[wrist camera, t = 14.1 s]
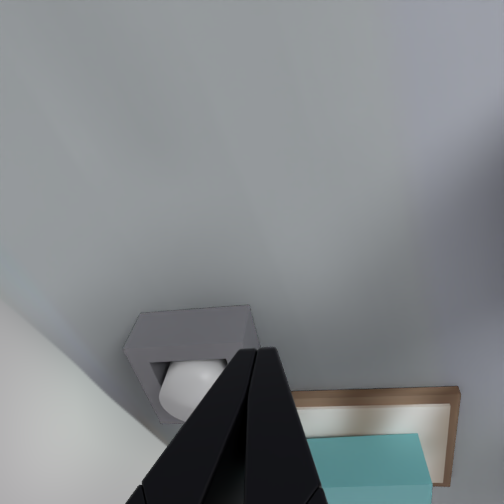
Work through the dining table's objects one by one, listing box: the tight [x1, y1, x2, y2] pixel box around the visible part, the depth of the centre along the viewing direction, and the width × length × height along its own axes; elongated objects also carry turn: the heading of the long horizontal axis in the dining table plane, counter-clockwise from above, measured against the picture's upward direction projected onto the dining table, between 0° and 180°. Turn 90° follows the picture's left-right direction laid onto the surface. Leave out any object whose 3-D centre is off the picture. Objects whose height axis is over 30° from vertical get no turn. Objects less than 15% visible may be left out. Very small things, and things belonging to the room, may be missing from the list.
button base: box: [123, 305, 260, 424], centre depth 25 cm, size 7×7×3 cm
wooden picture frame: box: [291, 386, 461, 487], centre depth 30 cm, size 15×11×1 cm
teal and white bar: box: [307, 433, 433, 504], centre depth 28 cm, size 12×4×4 cm, turn 101°
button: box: [159, 359, 228, 422], centre depth 25 cm, size 4×4×3 cm
